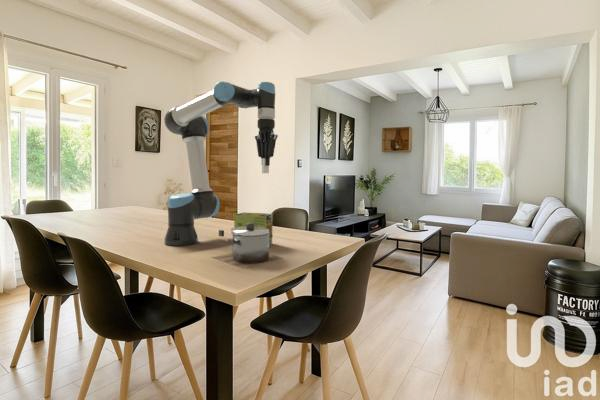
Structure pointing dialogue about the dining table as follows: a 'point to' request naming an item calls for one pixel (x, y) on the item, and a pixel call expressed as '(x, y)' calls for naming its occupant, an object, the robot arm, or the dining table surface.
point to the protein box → (255, 221)
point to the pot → (249, 248)
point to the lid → (249, 231)
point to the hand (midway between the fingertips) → (265, 173)
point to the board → (229, 259)
